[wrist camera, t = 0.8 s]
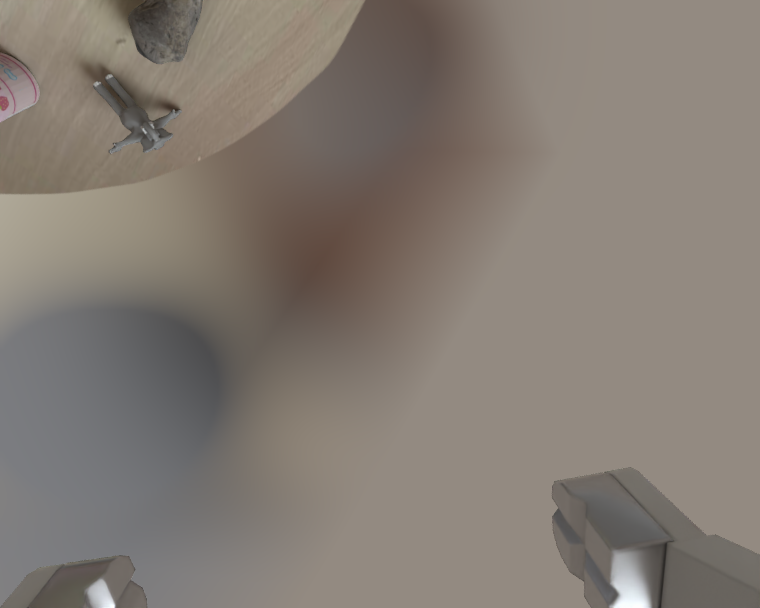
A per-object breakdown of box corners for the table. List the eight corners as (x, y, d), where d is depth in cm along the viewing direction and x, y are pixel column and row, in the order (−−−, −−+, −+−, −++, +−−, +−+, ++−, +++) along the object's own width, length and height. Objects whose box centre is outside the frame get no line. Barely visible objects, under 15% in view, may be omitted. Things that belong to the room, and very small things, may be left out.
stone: (201, -49, 40) (115, -67, 35) (228, -14, 39) (144, -28, 34) (193, 46, 48) (121, 42, 43) (216, 77, 47) (145, 76, 42)
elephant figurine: (138, 47, 45) (195, 117, 47) (143, 75, 50) (194, 137, 53) (54, 88, 41) (121, 161, 44) (69, 113, 47) (128, 177, 49)
